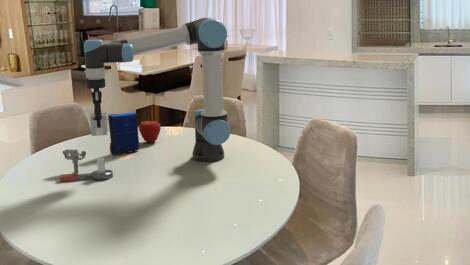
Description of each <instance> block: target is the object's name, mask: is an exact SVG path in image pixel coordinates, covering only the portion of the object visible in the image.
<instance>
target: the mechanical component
mask: <svg viewBox="0 0 470 265" xmlns="http://www.w3.org/2000/svg"><path fill="white" fill-rule="evenodd" d="M62 154H63V156H64V159H66V160H72V162H71V163H72V164H73V171H74V173H79V166H78V163H79V161H82V160H83V159H85V158H86V155H87V152H86V151H85V150H82V151H81V152H80V151H79V149H64V150H63V151H62ZM74 173H73V174H74Z"/></svg>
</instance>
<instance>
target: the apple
mask: <svg viewBox="0 0 470 265" xmlns="http://www.w3.org/2000/svg"><path fill="white" fill-rule="evenodd" d="M161 128H162V127H161V123H159V122H158V121H155V120H150V119H149V120H145V121H141V122H140V123H139V125H138V132H139V134H140V136H141V137H142V139H143V140H144V141H145V142H146V143H148V144H152V143H155V142H156V141H157V140H158V138H159V135H160V133H161Z"/></svg>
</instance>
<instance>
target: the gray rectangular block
mask: <svg viewBox="0 0 470 265" xmlns="http://www.w3.org/2000/svg"><path fill="white" fill-rule="evenodd" d="M101 117H102V129H103V135H102V136H108V122H107V121H108V120H107V113H106V112H101ZM93 119H95V113H90V115H89V121H90V133H91V137H95V136H96V137H97V136H98V137H99V136H100V135H96V126H95V120H93Z"/></svg>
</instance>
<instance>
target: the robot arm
mask: <svg viewBox="0 0 470 265" xmlns="http://www.w3.org/2000/svg"><path fill="white" fill-rule="evenodd" d="M227 37H228V30H227V28H226V25H225V24H224V23H223V22H222V21H220V20H219V19H216V18H211V17H202V18H198V19H196V20H193V21H189V22H185V23H183V24H182V26H179V27H173V28H168V29H166V30H165V29H164V30H161V31H157V32H152V33H148V34H147V33H146V34H143V35H138V36H134V37H129V38H126V39H120V40H113V41H111V42H109V43H108V44H105V43H103V40H102V39H86V40H84V42H83V55H84V57H83V58H84V66H85V70H84V71H83V72H84V73H85V78H86V80H85V81H86V88H87V89H90V90H91V89H93V91H92V92H91V97H92V103H93V107H94V114H95V119H93V120H95V126H96V135H99V136H104V135H103V129H102V117H101V113H102V107H101V106H102V105H101V104H102V102H103V101H102V96H103V95H102V94H103V93H102V91H101V90H100V89H103V88H105V87H106V85H107V84H106V78H105V77H106V71H105V69H106V68H105V64H110V63H113V64H115V63H131V62H133V61H134V59H135V58H134V57H135V56H137V55H141V54H147V53H151V52H155V51H160V50H165V49H167V48H172V47H176V46H181V45H187V46H190V45H196V46H197V53H199V55H201V70H202V71H201V74H202V92H203V93H202V94H203V108H202V109H197V110H195V111H194V116H193V118H194V135H195V136H194V137H195V138H194V139H195V143H194V146H193V149H192V154H191V156H192V159H193V160H194V161H196V162H205V163H206V162H215V161H217V162H218V161H220V160H223V159H224V158H225V150H224V147H223V144H224V143H226V142H227V141H228V140H229V138H230V136H231V130H232V129H231V126H230V124H229V122H228V111H226V109H224V86H223V85H224V82H223V61H222V60H223V59H222V57H223V56H222V54H223V53H224V52H225V51H226V48H225V47H226V45H225V44H226V41H227V39H228V38H227Z"/></svg>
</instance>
